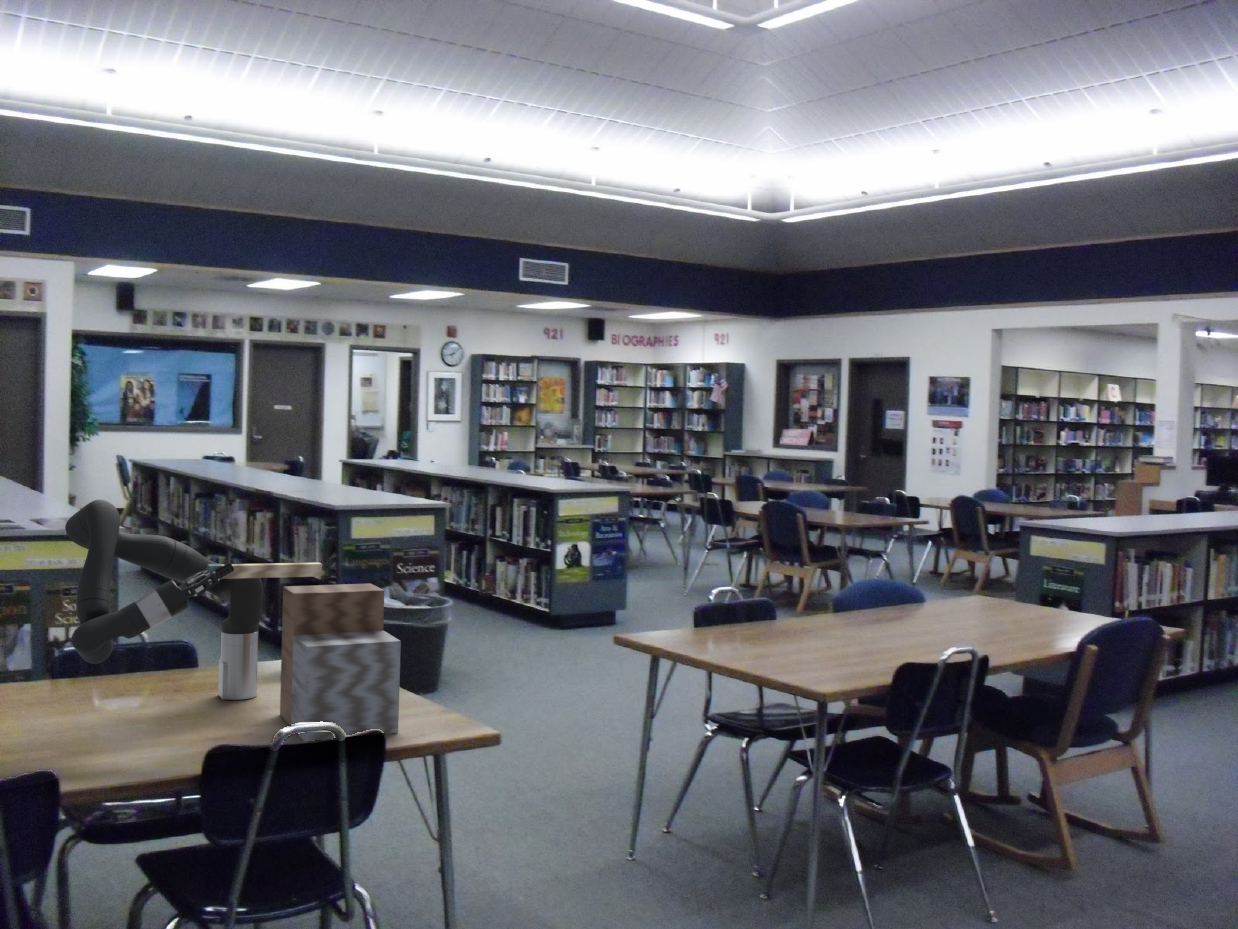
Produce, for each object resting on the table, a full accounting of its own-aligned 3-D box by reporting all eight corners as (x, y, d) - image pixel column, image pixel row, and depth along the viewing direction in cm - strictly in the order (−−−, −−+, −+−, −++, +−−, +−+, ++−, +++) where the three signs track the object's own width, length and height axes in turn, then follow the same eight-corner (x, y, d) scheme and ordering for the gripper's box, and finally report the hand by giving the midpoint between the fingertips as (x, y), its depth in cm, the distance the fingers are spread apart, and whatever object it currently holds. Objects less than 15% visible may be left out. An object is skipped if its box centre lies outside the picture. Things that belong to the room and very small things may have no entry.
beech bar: (209, 579, 265) (209, 566, 265) (207, 577, 268) (207, 564, 268) (321, 576, 278) (322, 563, 277) (318, 574, 280) (319, 562, 280)
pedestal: (304, 742, 262) (308, 603, 261) (279, 714, 285) (283, 586, 284) (398, 732, 273) (402, 599, 272) (366, 706, 296) (370, 583, 294)
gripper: (156, 594, 255) (228, 555, 262) (150, 585, 267) (218, 547, 274) (174, 623, 257) (244, 582, 264) (166, 612, 269) (233, 574, 276)
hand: (230, 565), depth 269 cm, fingers closed on beech bar, 3 cm apart
